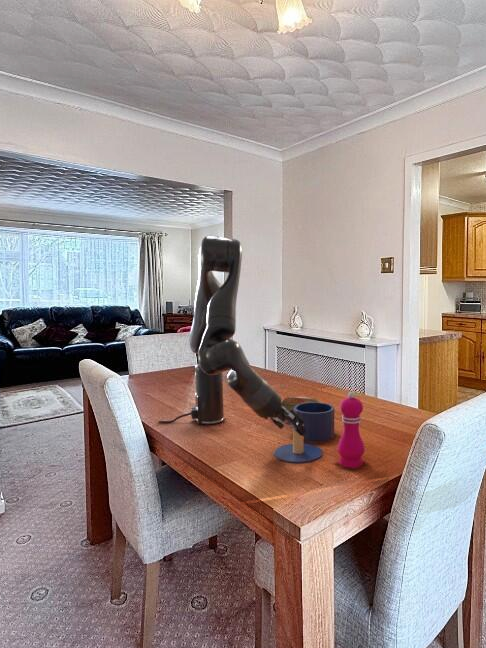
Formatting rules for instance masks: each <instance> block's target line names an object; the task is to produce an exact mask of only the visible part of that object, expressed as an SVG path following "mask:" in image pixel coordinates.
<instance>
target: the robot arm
mask: <svg viewBox="0 0 486 648" xmlns="http://www.w3.org/2000/svg"><path fill="white" fill-rule="evenodd" d="M242 262H243V248H242V242H241V241H240V240H238V239H236V238H231V237H224V236H216V235H206V236H204V237H203V238H202V240H201V242H200V245H199V254H198V277H197V278H198V280H197V285H196V292H195V297H194V298H195V299H194V309H193V320H192V324H191V328H190V334H189V348H190V350H191V352H192V353H193V354H196V355H197V362H198V363H197V364H196V365H195V367H194V370H195V371H194V372H195V373H194V375H195V393H194V399H195V407H190V412H187V413H184V414H181V415H179V416H176V417H175V418H173V419H172V420H158V424H171V423H174V422H176V421H177V420H179V419H181V418H184V417H187V416H190V417H191V419H192V420H195V421H196V423H197V425H217V424H220V423H222V422H224V421H225V416H224V415H225V413H224V405H225V404H224V381H223V379H224V378H223V375H224V374H223V373H224V372H226V371H227V372H228V371H229V372H228V374H227V376H226V383H227V385H228V386H229V388H231V390H233V392H234V393H236V395H238V396H239V398H241V399H242V401H243V402H244V404H245V405H247V406H248V407H249V408H250V409H251V410H252V411H253V412H254V413H255V414H256V415H257V416H258V417H259V418H262V419H264V420H268V421H269V422H271V423H273V424H274V425H275V426H276V427H277V428H278V429H280V430H283V428H284V427H290V428H291V429H292V430H293V429H294V430H295V431H296V432H297V433H298V434H299V435H301V436H304V434H305V432H306V428H305V427H304V426H303V424H304V421H303V420H302V419H301V418H300V417H299V416H298V415H297V414H296V413H295V412H294V411H293V410H290V411H288V410H286V408H285V407H283V406H282V405H281V403H282V397H281V395H280V394H279V393H278V392H277V391H276V390H275V389H274V388H273V387H272V386H271V385H270V384H269V383H268V382H267V380H266V379H264V378H263V377H261V376H260V374H259V373H257V372H256V371H255V370H254V369H253V368H252V366H251V364H250V362H249V360H248V358H247V356H246V354H245V352H244V350H243V347H242V345H241V344H240V343H239V342H237V341H236V340H234V339H232V338H233V336H234V335H235V334H236V330H237V298H238V291H239V286H240V280H241V279H240V278H241V270H242ZM214 272H219V273H225V274H227V273H228V274H227V277H226V279H225V280H224V282H223V283H221V282H220V281H219V280H218V279H217V277H216V276H215V275H214Z"/></svg>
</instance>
